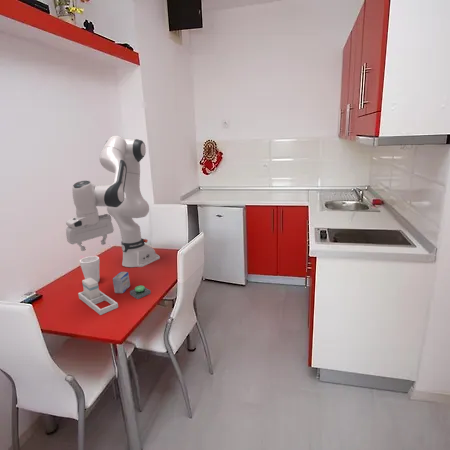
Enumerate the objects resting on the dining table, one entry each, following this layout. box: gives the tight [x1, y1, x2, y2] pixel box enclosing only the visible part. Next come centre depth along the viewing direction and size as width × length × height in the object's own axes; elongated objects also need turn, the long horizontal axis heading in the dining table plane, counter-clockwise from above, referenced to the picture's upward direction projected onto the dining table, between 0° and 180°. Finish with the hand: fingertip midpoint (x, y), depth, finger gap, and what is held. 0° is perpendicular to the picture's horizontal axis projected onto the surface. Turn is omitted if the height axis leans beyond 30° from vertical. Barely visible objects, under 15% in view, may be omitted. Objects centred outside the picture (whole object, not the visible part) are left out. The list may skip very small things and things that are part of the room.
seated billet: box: [81, 278, 100, 300], centre depth 150 cm, size 4×8×9 cm, turn 45°
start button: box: [134, 284, 146, 293], centre depth 152 cm, size 4×4×4 cm
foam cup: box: [79, 255, 101, 283], centre depth 168 cm, size 10×9×13 cm
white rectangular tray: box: [77, 289, 119, 316], centre depth 147 cm, size 8×23×3 cm, turn 45°
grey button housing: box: [129, 287, 152, 300], centre depth 153 cm, size 7×7×3 cm
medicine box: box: [112, 271, 131, 294], centre depth 158 cm, size 8×4×9 cm, turn 170°
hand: (93, 247), depth 147 cm, fingers open, 8 cm apart
